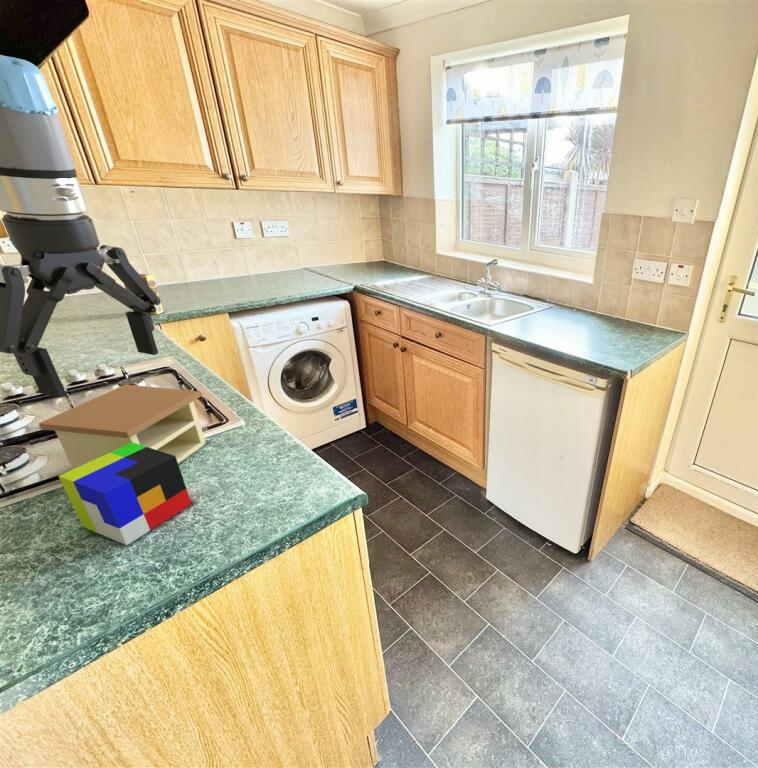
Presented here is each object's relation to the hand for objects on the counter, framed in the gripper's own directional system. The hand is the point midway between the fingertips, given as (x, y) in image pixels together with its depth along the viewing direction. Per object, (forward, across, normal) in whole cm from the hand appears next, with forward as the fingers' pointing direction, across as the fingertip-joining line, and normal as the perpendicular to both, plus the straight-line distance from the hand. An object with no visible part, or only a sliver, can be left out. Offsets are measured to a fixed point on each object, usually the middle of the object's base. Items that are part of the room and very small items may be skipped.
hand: (105, 371), depth 60 cm
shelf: (+27, +11, +12) cm, 32 cm away
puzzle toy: (+26, -3, 0) cm, 26 cm away
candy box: (+39, +94, +95) cm, 139 cm away
